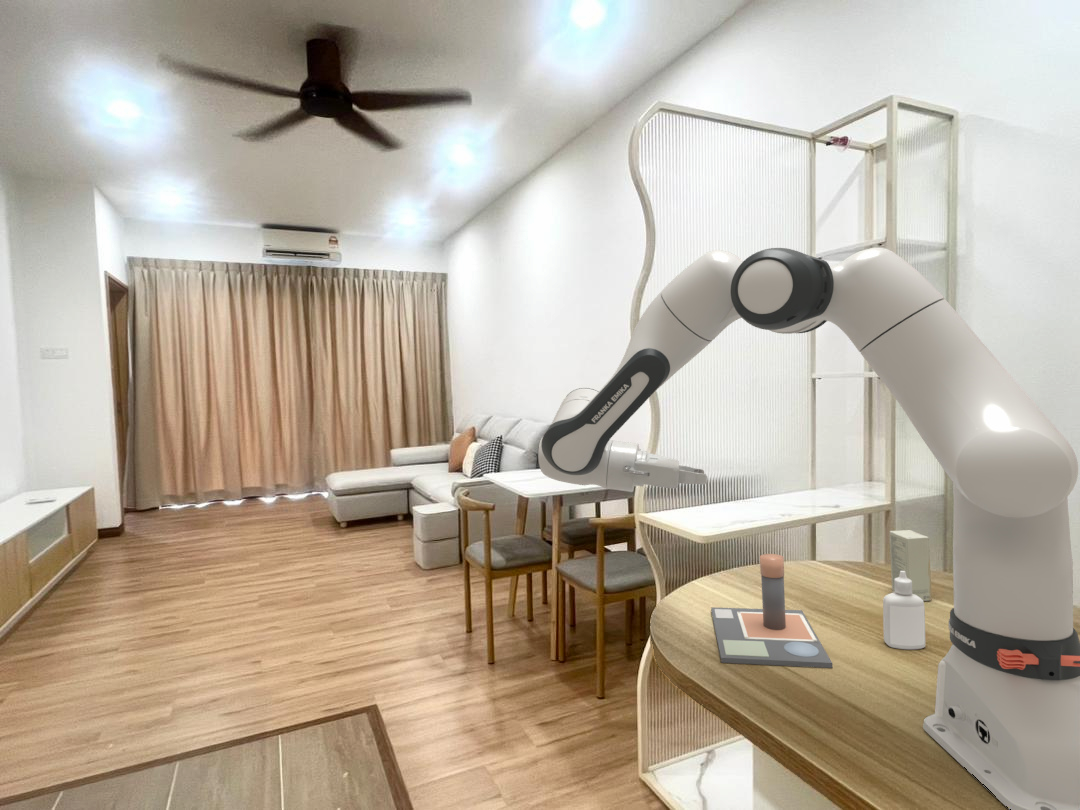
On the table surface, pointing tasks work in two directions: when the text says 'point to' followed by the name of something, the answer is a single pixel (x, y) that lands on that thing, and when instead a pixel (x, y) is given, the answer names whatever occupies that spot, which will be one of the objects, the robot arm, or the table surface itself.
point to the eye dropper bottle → (903, 616)
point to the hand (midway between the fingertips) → (705, 476)
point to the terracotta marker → (773, 591)
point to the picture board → (767, 639)
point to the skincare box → (911, 560)
